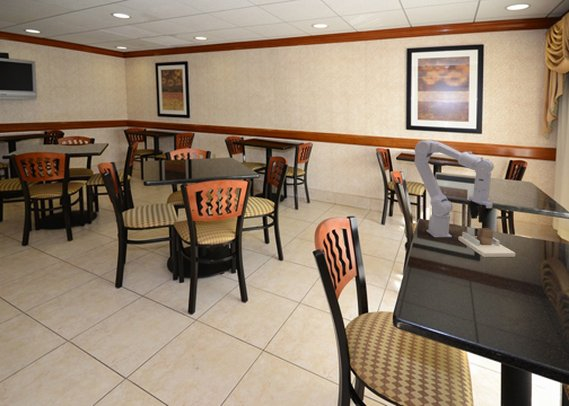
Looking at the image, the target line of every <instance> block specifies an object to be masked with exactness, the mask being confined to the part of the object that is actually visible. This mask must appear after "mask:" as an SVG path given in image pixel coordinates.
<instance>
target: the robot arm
mask: <svg viewBox="0 0 569 406" xmlns="http://www.w3.org/2000/svg"><path fill="white" fill-rule="evenodd" d="M413 151H414V165H415V167H416V170H417V172H418V174H419V177H421V180H422V182H423V184H424V186H425V187H424V188H426V191H427V193H428V195H429V197H430V201H429V203H430V206H431V213H432V214H431V215H430V217H429V219H428V229H426V232H427V233H429V234H430V235H431V236H432V237H434V238H452V237H453V236H452V235H451V234H450V233H449V230H450V219H451V215H450V213H451V212H452V210H453V203H452V202H451V201H450V200H449V199H448V198H447V196H446V195H445V194H444V193H443V192H442V190H441V187H440V186H439V183H438V182H437V179H436V177H435V175H434V173H433V170H432V169H431V167H430V166H431V165H430V164H429V161H430V159H431V156H432V155H434V154H437V153H440V154H443V155H445V156H446V157H447V156H448V157H450V158H452V159H455V160H457V162H458V164H459V165H461V166H463V167H466V168H467V169H470V170H471V171H474V172H475V178H474V185H473V191H472V192H473V193H472V195H468V202H467V206H468V208H469V212H470V218H471V219H472V220H474V219H477V220H478V221H477V222H478V223H480V224H483V223H485V222H486V220H487V218H488V215H489V214H490V212H491V211H493V202H491V199H489V195H490V188H491V181H492V179H491V178H492V177H491V176H492V171H493V170H494V168H495V167H494V165H495V164H494V163H493V162H492V161H491V160H490V159H484V157H483V156H481V157H480V156H477V155H475V154H473V151H463V152H461V151H459V150H457V149H456V148H455V149H454V148H453V147H451V146H448V145H447V144H445V143H442V142H440V141H437V140H434V139H426V140H420V141H418V142H417V144H416V145H415V148H414V150H413Z"/></svg>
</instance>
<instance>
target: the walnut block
mask: <svg viewBox="0 0 569 406" xmlns="http://www.w3.org/2000/svg"><path fill="white" fill-rule="evenodd" d="M476 234H477V235H476V236H477V240H479V241H480V244H481V245H492V238H494V230H493V229H491V228H489V227H478V229H477V233H476Z"/></svg>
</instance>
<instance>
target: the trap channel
mask: <svg viewBox="0 0 569 406" xmlns="http://www.w3.org/2000/svg"><path fill="white" fill-rule="evenodd" d="M457 239H458V241H460V242H461V243H463V244H464V245H466V246H467V247H468V248H470V249H472V250H473V251H474V252H475V253H477V254H479V255H480V256H482V257H483V258H516V252H514V251H513V250H511V249H509V248H507V247H506V246H504V245H502V244H500V240H499V239H497V238H495V237H493V238H492V245H481V244H480V241H479V240H477V235H476V236H475V235H473V236H472V235H471V234H469V233H467V232H466V231H462V235H461V236H458V238H457Z"/></svg>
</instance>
